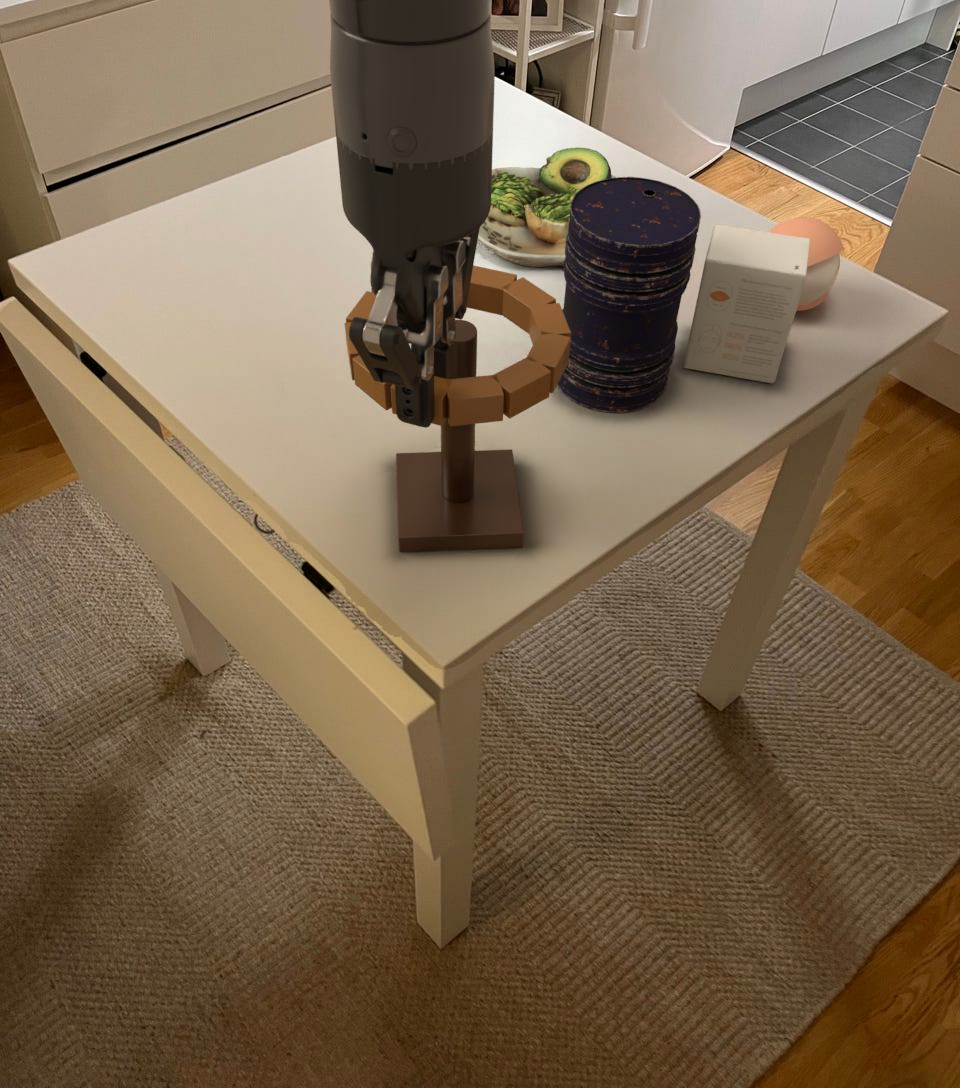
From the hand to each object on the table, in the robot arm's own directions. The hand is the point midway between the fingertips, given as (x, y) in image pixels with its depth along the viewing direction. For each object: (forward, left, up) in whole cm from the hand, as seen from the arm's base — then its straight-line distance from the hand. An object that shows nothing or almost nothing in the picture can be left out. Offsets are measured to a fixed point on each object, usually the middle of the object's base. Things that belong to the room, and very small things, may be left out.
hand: (423, 407), depth 61 cm
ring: (+2, +5, 0) cm, 6 cm away
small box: (+27, +22, -14) cm, 38 cm away
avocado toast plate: (+14, +45, -14) cm, 50 cm away
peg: (+2, +5, -14) cm, 15 cm away
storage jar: (+16, +20, -14) cm, 30 cm away
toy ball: (+34, +30, -14) cm, 48 cm away
